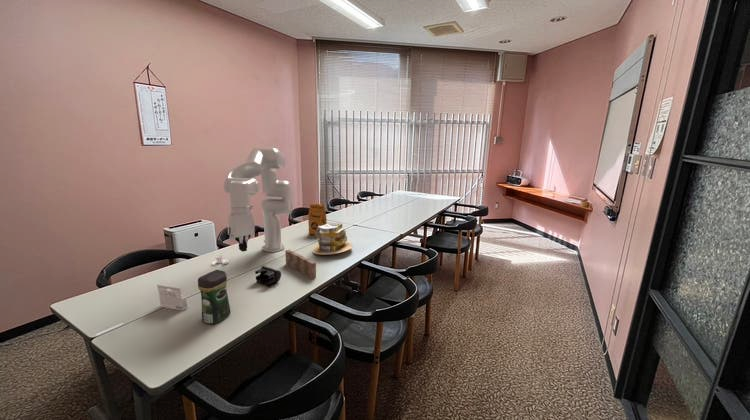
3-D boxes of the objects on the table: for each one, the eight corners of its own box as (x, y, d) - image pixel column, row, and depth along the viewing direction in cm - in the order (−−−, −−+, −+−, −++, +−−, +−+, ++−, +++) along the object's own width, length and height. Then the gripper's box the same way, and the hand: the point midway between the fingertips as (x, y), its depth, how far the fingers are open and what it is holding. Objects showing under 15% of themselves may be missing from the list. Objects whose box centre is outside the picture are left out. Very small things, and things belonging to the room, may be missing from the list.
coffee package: (321, 237, 212) (321, 206, 207) (306, 234, 217) (305, 204, 212) (329, 233, 221) (329, 203, 215) (314, 231, 226) (314, 201, 220)
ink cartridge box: (165, 303, 127) (162, 282, 125) (188, 308, 125) (185, 285, 122) (159, 306, 125) (156, 284, 122) (183, 311, 122) (180, 288, 120)
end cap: (281, 281, 149) (281, 268, 147) (270, 287, 143) (269, 274, 141) (266, 276, 154) (266, 263, 152) (255, 282, 148) (254, 269, 146)
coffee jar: (218, 308, 125) (214, 266, 120) (234, 313, 122) (230, 270, 117) (197, 322, 116) (192, 276, 111) (213, 327, 113) (209, 280, 109)
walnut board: (285, 264, 168) (285, 250, 166) (289, 263, 170) (288, 249, 168) (312, 278, 153) (312, 263, 151) (316, 277, 154) (315, 262, 152)
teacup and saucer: (231, 264, 167) (230, 257, 166) (216, 268, 161) (215, 261, 160) (224, 259, 173) (224, 252, 172) (209, 263, 167) (208, 256, 166)
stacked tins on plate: (303, 252, 186) (302, 225, 182) (330, 240, 207) (330, 216, 203) (335, 262, 174) (335, 233, 170) (360, 249, 194) (361, 223, 190)
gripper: (253, 205, 139) (255, 244, 143) (218, 211, 128) (222, 252, 133) (261, 209, 134) (263, 248, 139) (226, 214, 123) (229, 257, 128)
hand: (243, 250), depth 136 cm, fingers closed
